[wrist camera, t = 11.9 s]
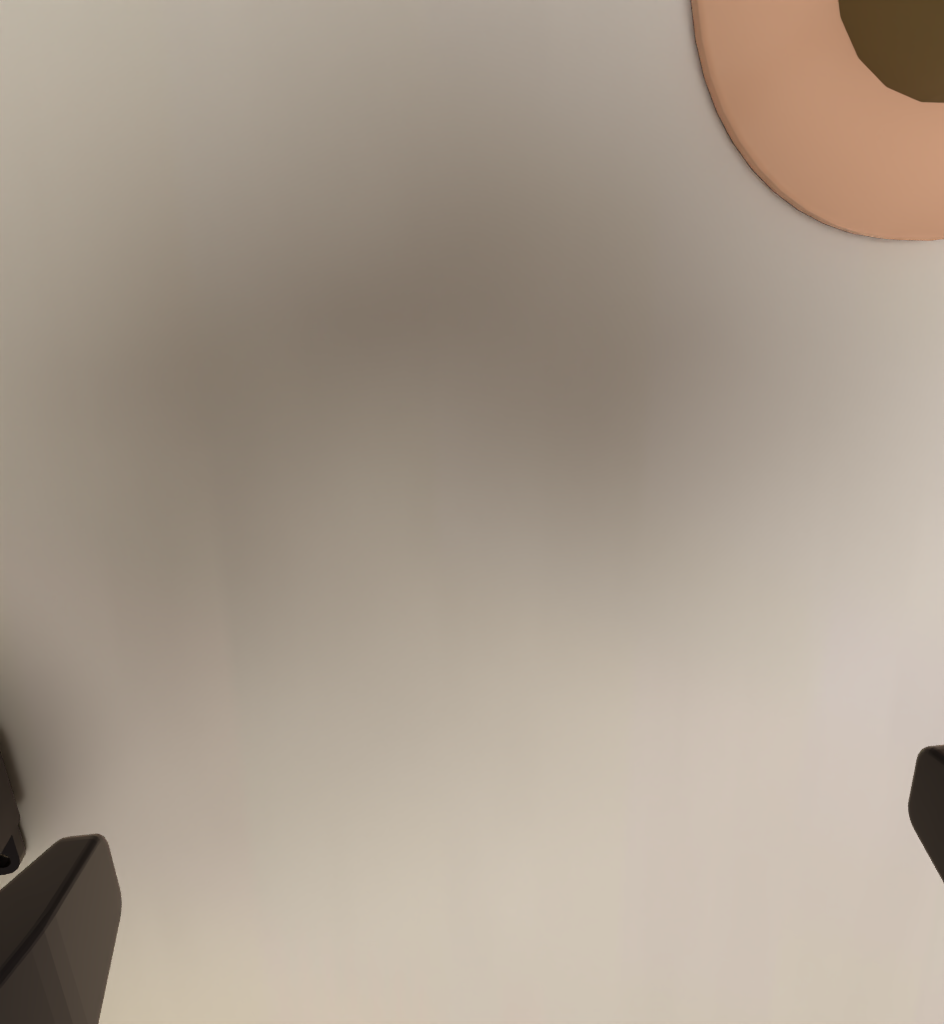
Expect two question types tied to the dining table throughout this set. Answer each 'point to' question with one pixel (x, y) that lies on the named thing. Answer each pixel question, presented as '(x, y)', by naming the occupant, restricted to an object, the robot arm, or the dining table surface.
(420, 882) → the dining table surface
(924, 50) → the olive bulb shape
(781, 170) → the coaster
